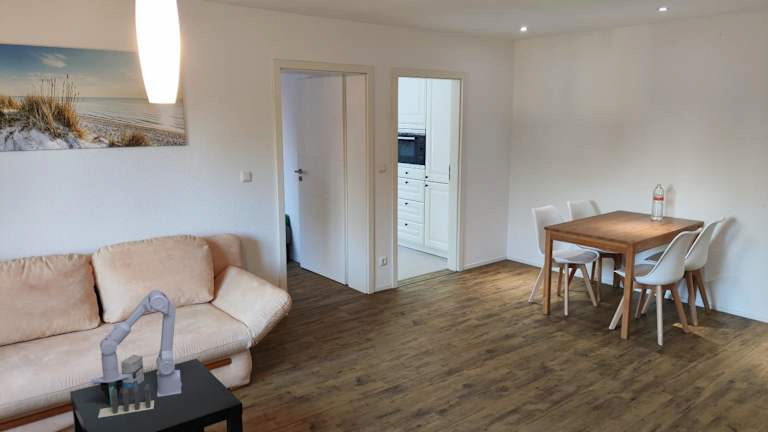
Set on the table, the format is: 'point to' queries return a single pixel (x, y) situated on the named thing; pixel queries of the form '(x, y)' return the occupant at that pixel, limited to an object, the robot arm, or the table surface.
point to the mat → (109, 411)
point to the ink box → (133, 371)
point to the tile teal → (112, 386)
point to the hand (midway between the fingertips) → (113, 398)
